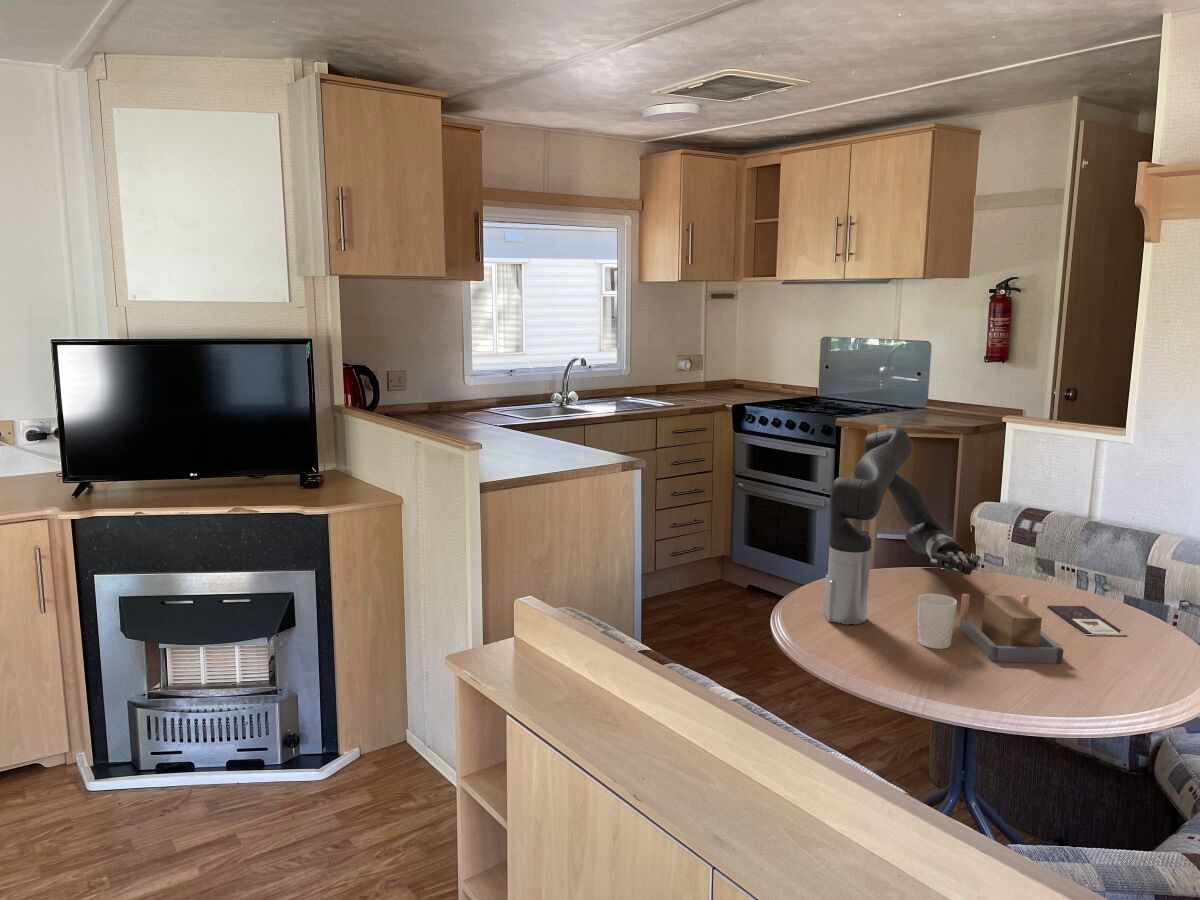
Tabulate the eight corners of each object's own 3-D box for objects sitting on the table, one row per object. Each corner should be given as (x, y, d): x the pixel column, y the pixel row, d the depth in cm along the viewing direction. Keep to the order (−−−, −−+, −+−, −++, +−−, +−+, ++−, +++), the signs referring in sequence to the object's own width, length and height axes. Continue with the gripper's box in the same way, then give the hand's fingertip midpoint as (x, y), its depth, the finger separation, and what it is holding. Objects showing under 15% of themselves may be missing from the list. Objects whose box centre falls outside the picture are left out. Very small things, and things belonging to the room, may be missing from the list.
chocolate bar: (1084, 606, 220) (1126, 633, 202) (1084, 609, 220) (1125, 637, 202) (1047, 605, 220) (1086, 633, 202) (1047, 609, 220) (1085, 637, 202)
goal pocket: (990, 661, 187) (993, 624, 186) (958, 626, 206) (960, 593, 205) (1063, 663, 187) (1067, 626, 185) (1024, 628, 206) (1027, 595, 204)
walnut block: (1009, 658, 189) (1012, 617, 188) (981, 633, 203) (984, 595, 201) (1037, 659, 189) (1041, 618, 188) (1008, 633, 203) (1011, 595, 201)
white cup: (947, 637, 200) (951, 594, 199) (957, 651, 193) (961, 606, 191) (911, 635, 201) (914, 592, 199) (919, 649, 193) (923, 604, 192)
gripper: (920, 536, 238) (941, 555, 221) (971, 538, 237) (996, 556, 220) (917, 564, 239) (939, 584, 222) (968, 565, 239) (993, 586, 221)
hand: (967, 570), depth 221 cm, fingers closed
